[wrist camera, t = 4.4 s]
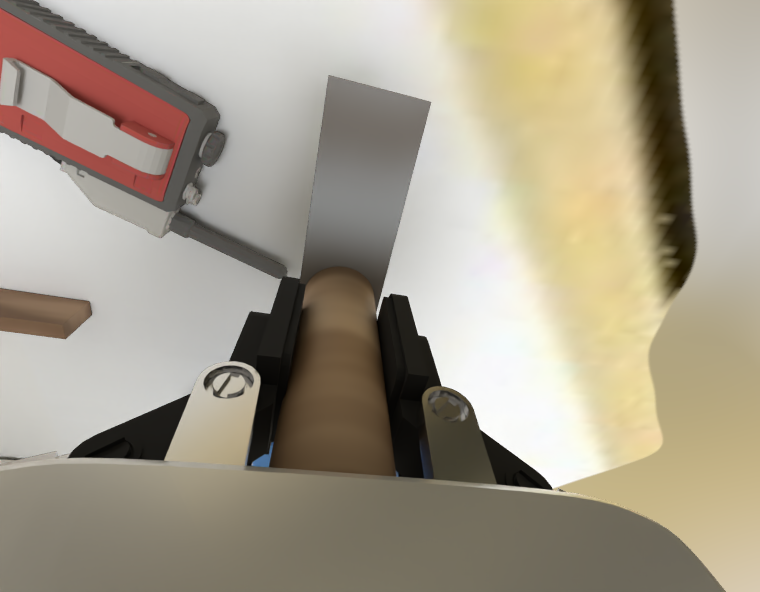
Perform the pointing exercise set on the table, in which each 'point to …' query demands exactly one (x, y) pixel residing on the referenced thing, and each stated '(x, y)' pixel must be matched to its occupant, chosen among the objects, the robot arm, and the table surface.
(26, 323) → the dock
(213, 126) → the walkie-talkie
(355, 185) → the scraper
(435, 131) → the table surface
